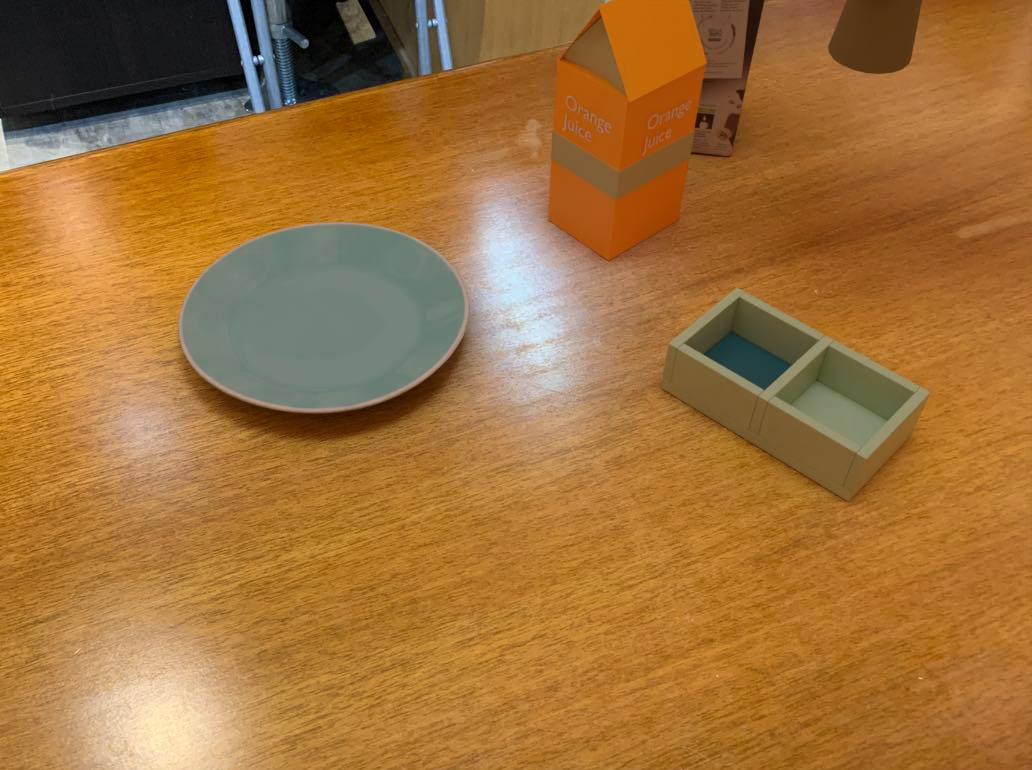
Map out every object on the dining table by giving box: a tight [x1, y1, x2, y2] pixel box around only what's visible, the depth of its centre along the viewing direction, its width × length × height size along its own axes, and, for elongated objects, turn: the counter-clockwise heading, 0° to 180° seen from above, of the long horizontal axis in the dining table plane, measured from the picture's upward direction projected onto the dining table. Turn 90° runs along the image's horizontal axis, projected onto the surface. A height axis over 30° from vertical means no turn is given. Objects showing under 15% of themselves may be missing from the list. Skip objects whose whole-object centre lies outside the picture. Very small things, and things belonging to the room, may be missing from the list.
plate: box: [177, 221, 471, 414], centre depth 84 cm, size 22×22×3 cm
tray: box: [660, 287, 931, 503], centre depth 79 cm, size 16×9×4 cm, turn 47°
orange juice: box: [547, 0, 707, 262], centre depth 87 cm, size 8×9×20 cm
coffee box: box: [689, 0, 765, 157], centre depth 97 cm, size 9×6×16 cm
